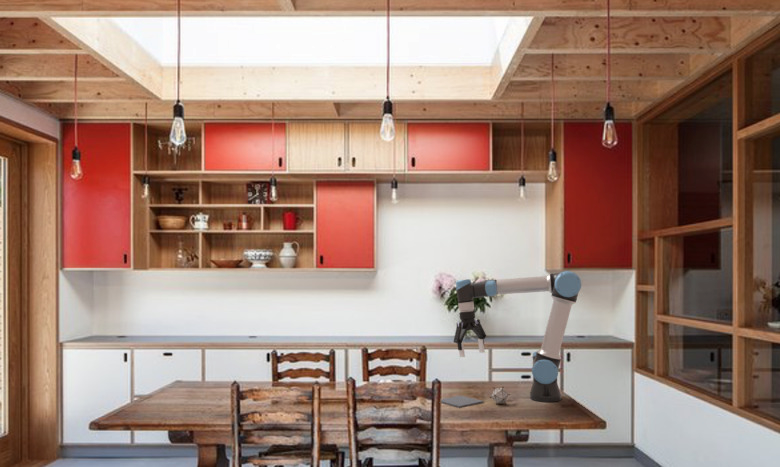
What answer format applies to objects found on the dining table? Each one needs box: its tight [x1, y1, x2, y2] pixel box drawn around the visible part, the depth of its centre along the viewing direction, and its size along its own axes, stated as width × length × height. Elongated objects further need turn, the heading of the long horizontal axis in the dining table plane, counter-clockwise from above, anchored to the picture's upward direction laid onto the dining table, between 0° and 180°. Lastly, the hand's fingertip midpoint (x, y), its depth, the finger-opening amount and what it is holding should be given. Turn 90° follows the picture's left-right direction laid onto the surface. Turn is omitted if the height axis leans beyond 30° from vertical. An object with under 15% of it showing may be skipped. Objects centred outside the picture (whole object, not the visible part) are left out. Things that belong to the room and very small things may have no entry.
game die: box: [489, 386, 511, 406], centre depth 301 cm, size 9×8×10 cm
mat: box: [440, 395, 484, 409], centre depth 305 cm, size 16×16×1 cm
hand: (472, 354), depth 307 cm, fingers open, 13 cm apart
